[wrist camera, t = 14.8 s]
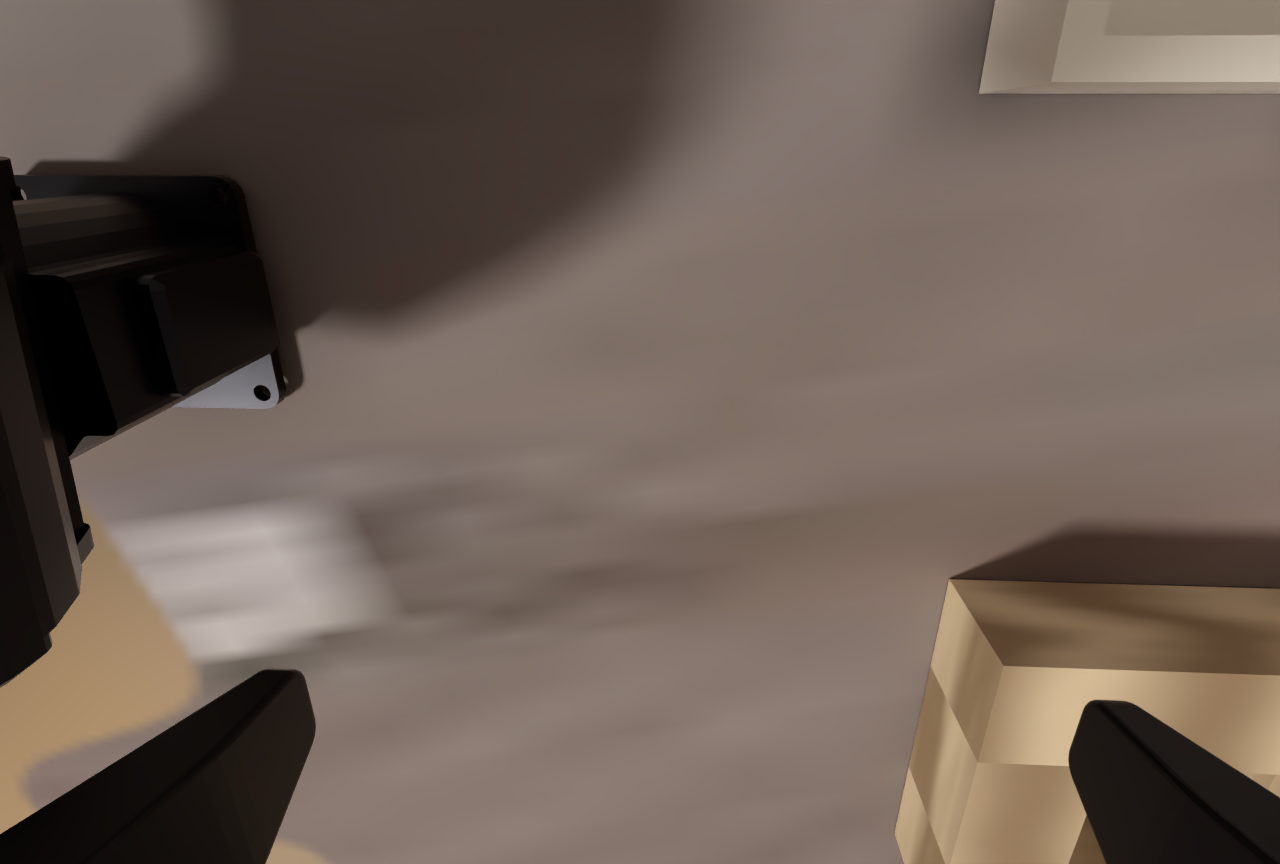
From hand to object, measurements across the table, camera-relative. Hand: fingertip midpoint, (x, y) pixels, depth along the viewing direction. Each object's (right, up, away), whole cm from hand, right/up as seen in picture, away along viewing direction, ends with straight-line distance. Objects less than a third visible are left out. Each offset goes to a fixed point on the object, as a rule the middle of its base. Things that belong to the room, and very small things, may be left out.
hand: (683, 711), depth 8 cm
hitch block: (+16, -7, +16) cm, 24 cm away
